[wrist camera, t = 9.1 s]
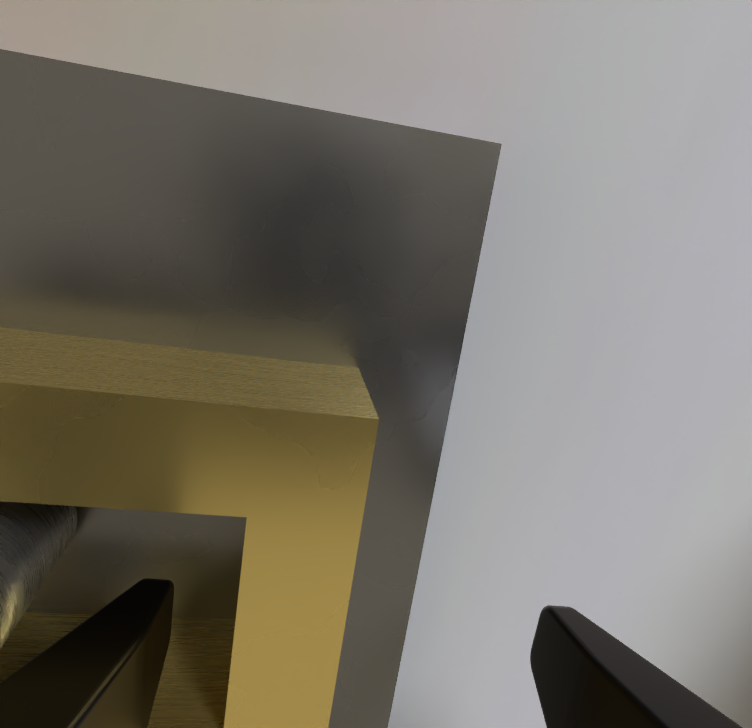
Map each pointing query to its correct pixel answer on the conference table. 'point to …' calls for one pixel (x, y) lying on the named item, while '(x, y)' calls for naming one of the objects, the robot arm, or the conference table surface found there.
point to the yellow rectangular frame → (204, 502)
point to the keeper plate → (238, 312)
